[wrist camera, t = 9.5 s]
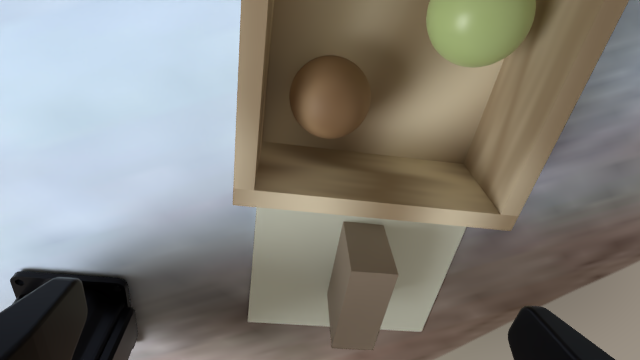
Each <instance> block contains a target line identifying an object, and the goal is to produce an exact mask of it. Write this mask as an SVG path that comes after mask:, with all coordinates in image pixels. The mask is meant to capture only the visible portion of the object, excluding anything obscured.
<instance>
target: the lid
mask: <svg viewBox="0 0 640 360" xmlns="http://www.w3.org/2000/svg"><path fill="white" fill-rule="evenodd" d="M465 229H466V227H464V226H453V225H442V224H432V223H421V222H410V221H399V220H389V219H378V218H367V217H356V216H345V215H335V214H324V213H313V212H302V211H292V210H281V209H270V208H259V207H257V208H256V221H255V234H254V247H253V259H252V272H251V285H250V298H249V310H248V322H257V323H275V324H293V325H310V326H328V327H330V335H331V347H332V348H338V349H358V350H373V348H374V345H375V342H376V339H377V336H378V333H379V330H380V329H381V330H399V331H416V332H422V329H423V327H424V325H425V322H426V320H427V318H428V315H429V313H430V311H431V308H432V306H433V304H434V301H435V299H436V297H437V294H438V292H439V290H440V287H441V285H442V283H443V280H444V278H445V276H446V273H447V271H448V269H449V266H450V264H451V262H452V260H453V257H454V255H455V253H456V250H457V248H458V246H459V243H460V241H461V239H462V236H463V234H464V232H465Z"/></svg>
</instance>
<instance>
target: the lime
mask: <svg viewBox="0 0 640 360" xmlns="http://www.w3.org/2000/svg"><path fill="white" fill-rule="evenodd" d="M535 12H536V0H430V2H429V5H428V9H427V15H426V27H427V32H428V35H429V39H430V41H431V43H432V45H433V47H434V48H435V50H436V51H437V52H438V53H439V54H440V55H441V56H442V57H443V58H445V59H446V60H448V61H449V62H451V63H453V64H456V65H458V66H463V67H471V68H474V67H483V66H488V65H491V64H494V63H496V62H498V61H500V60H502V59H504V58H506V57H507V56H508V55H510V54H511V53H512V52H514V51H515V50H516V49H517V48H518V47H519V46H520V44H521V43H522V42H523V41H524V39H525V38H526V36H527V35H528V33H529V31H530V29H531V27H532V24H533V21H534V17H535Z"/></svg>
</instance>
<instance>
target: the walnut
mask: <svg viewBox="0 0 640 360" xmlns="http://www.w3.org/2000/svg"><path fill="white" fill-rule="evenodd" d="M289 99H290V107H291V110H292V113H293V115H294V117H295V119H296V121H297V122H298V123H299V125H300V126H301V127H302V128H303V129H305V130H306V131H307V132H309V133H310V134H312V135H315V136H317V137H320V138H327V139H332V138H339V137H343V136H345V135H348V134H350V133H351V132H353V131H354V130H356V129H357V128H358V127H359V126H360V125H361V123H362V122H363V121H364V119H365V118H366V116H367V114H368V111H369V108H370V103H371V90H370V86H369V82H368V80H367V78H366V76H365V74H364V73H363V71H362V70H361V69H360V68H359V67H358V66H357V65H356V64H355V63H353V62H352V61H350V60H348V59H346V58H343V57H340V56H335V55H325V56H320V57H317V58H314V59H312V60H310V61H309V62H307V63H306V64H305V65H304V66H303V67H301V69H300V70H299V71H298V72H297V74H296V75H295V77H294V79H293V81H292V84H291V88H290V94H289Z"/></svg>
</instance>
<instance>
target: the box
mask: <svg viewBox="0 0 640 360" xmlns="http://www.w3.org/2000/svg"><path fill="white" fill-rule="evenodd" d="M628 1H629V0H536V12H535V17H534V21H533V24H532V27H531V29H530V31H529V33H528V35H527V36H526V38H525V39H524V41H523V42H522V43H521V44H520V46H519V47H518V48H517V49H516V50H515V51H514V52H512V53H511V54H510V55H508V56H507V57H506V58H504V59H502V60H500V61H498V62H496V63H494V64H491V65H488V66H483V67H474V68H471V67H463V66H458V65H456V64H453V63H451V62H449V61H448V60H446V59H445V58H443V57H442V56H441V55H440V54H439V53H438V52H437V51H436V50H435V48H434V47H433V45H432V43H431V41H430V39H429V35H428V32H427V27H426V15H427V9H428V5H429V2H430V0H241V20H240V43H239V67H238V91H237V115H236V139H235V163H234V187H233V205H238V206H249V207H259V208H270V209H281V210H292V211H302V212H313V213H324V214H335V215H345V216H356V217H367V218H378V219H389V220H399V221H410V222H421V223H432V224H442V225H453V226H464V227H475V228H485V229H496V230H507V231H511V230H512V228H513V226H514V224H515V222H516V220H517V218H518V216H519V214H520V212H521V210H522V208H523V206H524V204H525V202H526V200H527V199H528V197H529V195H530V193H531V191H532V189H533V187H534V185H535V183H536V181H537V179H538V177H539V175H540V173H541V171H542V169H543V167H544V165H545V163H546V161H547V159H548V158H549V156H550V154H551V152H552V150H553V148H554V146H555V144H556V142H557V140H558V138H559V136H560V134H561V132H562V130H563V128H564V126H565V124H566V122H567V120H568V118H569V116H570V115H571V113H572V111H573V109H574V107H575V105H576V103H577V101H578V99H579V97H580V95H581V93H582V91H583V89H584V87H585V85H586V83H587V81H588V79H589V77H590V75H591V74H592V72H593V70H594V68H595V66H596V64H597V62H598V60H599V58H600V56H601V54H602V52H603V50H604V48H605V46H606V44H607V42H608V40H609V38H610V36H611V34H612V32H613V31H614V29H615V27H616V25H617V23H618V21H619V19H620V17H621V15H622V13H623V11H624V9H625V7H626V5H627V3H628ZM325 55H335V56H340V57H343V58H346V59H348V60H350V61H352V62H353V63H355V64H356V65H357V66H358V67H359V68H360V69H361V70H362V71H363V73H364V74H365V76H366V78H367V80H368V82H369V86H370V90H371V103H370V108H369V111H368V114H367V116H366V118H365V119H364V121H363V122H362V123H361V125H360V126H359V127H358V128H357V129H356V130H354V131H353V132H351V133H350V134H348V135H345V136H343V137H339V138H332V139H327V138H320V137H317V136H315V135H312V134H310V133H309V132H307V131H306V130H305V129H303V128H302V127H301V126H300V125H299V123H298V122H297V121H296V119H295V117H294V115H293V113H292V110H291V107H290V99H289V94H290V88H291V84H292V81H293V79H294V77H295V75H296V74H297V72H298V71H299V70H300V69H301V67H303V66H304V65H305V64H306V63H307V62H309V61H310V60H312V59H314V58H317V57H320V56H325Z"/></svg>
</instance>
